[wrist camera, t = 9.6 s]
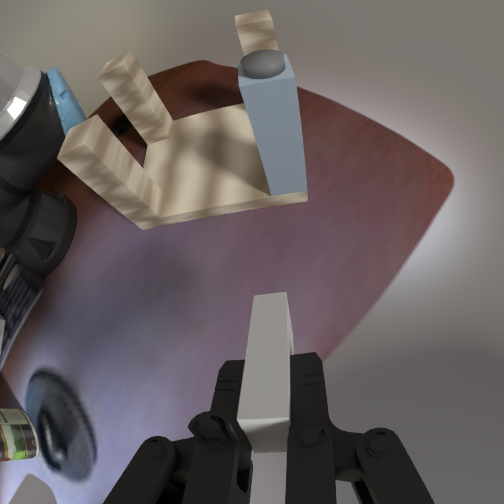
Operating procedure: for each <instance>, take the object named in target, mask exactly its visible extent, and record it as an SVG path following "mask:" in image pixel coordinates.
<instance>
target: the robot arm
mask: <svg viewBox="0 0 504 504" xmlns="http://www.w3.org/2000/svg"><path fill="white" fill-rule="evenodd" d="M85 120H87V119H86V117H85V115H84V113H83V111H82V109H81V107H80V105H79V103H78V101H77V99H76V98H75V96H74V94H73V92H72V90H71V89H70V87H69V85H68V84H67V82H66V80H65V79H64V77H63V75H62V74H61V72H60V71H59V70H58V68H56V67H53V68H52V69H49V70H47V72H46V73H45V74H44V73H43V72H42V71H41V70H40V68H38V67H37V66H30V67H26V68H20V67H19V66H18V65H17V64H16V63H15V62H14V61H13V60H12V59H11V58H10V57H9V56H8V55H7V54H6V53H5V52H4V51H3V50H2V49H1V48H0V246H1V247H3V248H4V249H6V250H8V251H9V252H10V253H11V254H12V255H13V256H14V257H15V258H16V259H17V260H18V261H19V262H20V263H21V264H22V265H23V266H24V267H25V268H26V269H27V270H28V271H30V272H32V273H34V274H36V275H39V276H44V275H47V274H49V273H50V272H52V271H53V270H54V269H55V268H56V267H57V266H58V265H59V263H60V262H61V261H62V259H63V258H64V256H65V254H66V252H67V250H68V248H69V246H70V244H71V241H72V238H73V235H74V232H75V227H76V218H77V215H76V208H75V205H74V204H73V202H72V201H70V200H69V199H68V198H66V197H65V196H64V195H61V194H58V193H54V192H50V191H46V190H42V189H38V188H36V187H35V185H36V184H37V183H38V181H39V180H40V179H41V178H42V177H43V176H44V175H45V174H46V173H47V172H48V171H49V170H50V169H51V168H52V167H53V166H54V165H55V164H56V163H57V162H58V161H59V160H58V159H57V157H58V154H59V152H60V149H61V147H62V145H63V142H64V140H65V138H66V136H67V134H68V131H69V129H71V128H72V127H74V126H76V125H78V124H80V123H82V122H84V121H85ZM188 428H189V430H190V431H191V432H192V433H193V435H194V437H191V438H187V439H182V440H177V441H170V440H169V439H167V438H166V437H162V436H154V437H151V438H149V439H147V440H145V441H144V442H143V444H142V445H141V446H140V448H139V449H138V451H137V452H136V454H135V455H134V457H133V458H132V460H131V461H130V463H129V464H128V466H127V468H126V469H125V471H124V472H123V474H122V475H121V477H120V478H119V480H118V481H117V483H116V484H115V486H114V487H113V489H112V490H111V492H110V493H109V495H108V497H107V498H106V500H105V501H104V503H103V504H249V503H250V493H251V483H252V473H253V463H252V460H251V451H252V450H253V451H254V453H270V452H287V470H286V497H285V504H336V486H335V485H336V484H335V480H341V481H348V482H351V484H352V487H353V489H354V491H355V494H356V496H357V499H358V501H359V504H434V501H433V500H432V498H431V496H430V494H429V492H428V490H427V488H426V486H425V484H424V483H423V481H422V479H421V477H420V475H419V473H418V472H417V470H416V468H415V466H414V464H413V462H412V461H411V459H410V457H409V455H408V454H407V451H406V450H405V448H404V446H403V445H402V443H401V441H400V439H399V438H398V436H397V435H396V434H395V433H394V432H393V431H392V430H389V429H387V428H375V429H371V430H369V431H367V432H366V433H364V434H362V433H353V432H346V431H342V430H340V429H338V428H337V427H335V426H334V425H333V424H332V422H331V420H330V418H329V414H328V405H327V397H326V389H325V380H324V373H323V365H322V360H321V359H320V358H319V356H318V355H317V354H316V352H312V353H304V354H296V355H293V334H292V327H291V321H290V314H289V307H288V301H287V295H286V292H280V293H272V294H264V295H256V296H254V300H253V307H252V314H251V322H250V329H249V336H248V344H247V351H246V358H245V360H230V361H226V362H225V363H224V364H223V366H222V367H221V369H220V370H219V374H218V378H217V383H216V387H215V392H214V396H213V400H212V405H211V409H210V411H208V412H203V413H201V414H198V415H196V416H195V417H194V418H193V419H192V420H191V421H190V423H189V425H188Z"/></svg>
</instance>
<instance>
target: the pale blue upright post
mask: <svg viewBox="0 0 504 504" xmlns="http://www.w3.org/2000/svg"><path fill="white" fill-rule="evenodd" d="M238 76H239V88H240V91H241V94H242V97H243V101H244V104H245V107H246V110H247V114H248V117H249V120H250V123H251V127H252V130H253V133H254V137H255V140H256V143H257V147H258V150H259V153H260V157H261V160H262V164H263V167H264V171H265V174H266V178H267V181H268V185H269V188H270V192H271V196H277V195H284V194H291V193H298V192H305V191H307V182H306V170H305V159H304V148H303V138H302V128H301V120H300V111H299V103H298V95H297V88H296V81H295V76H294V73H293V70H292V68H291V65H290V62H289V60H288V57H287V55H286V54H284V55H283V54H282V53H281V52H279V51H277V50H271V49H265V50H258V51H254V52H251V53H249V54H247V55H245V56H244V57H243V58H242V59H241V62H239V63H238Z"/></svg>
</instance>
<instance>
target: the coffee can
mask: <svg viewBox="0 0 504 504" xmlns="http://www.w3.org/2000/svg"><path fill="white" fill-rule="evenodd" d="M38 455H39V441H38V437H37V433H36V431H35V428H34V426H33V424H32V422H31V420H30V418H29V417H28V415H27V414H26V413H25V412H24V411H23V410H21V409H0V462H1V461H12V460H21V459H29V458H36V457H37V456H38Z"/></svg>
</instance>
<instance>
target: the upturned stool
mask: <svg viewBox="0 0 504 504" xmlns="http://www.w3.org/2000/svg"><path fill="white" fill-rule="evenodd" d="M235 23H236V29H237V32H238V35H239V38H240V42H241V45H242V48H243V52H244V55H247V54H249V53H251V52H254V51H258V50H265V49H271V50H277V51H279V50H278V45H277V40H276V35H275V31H274V26H273V21H272V18H271V16H270V14H269V11H268V10H265V11H260V12H254V13H248V14H243V15H238V16H235ZM98 79H99V80H100V81H101V83H102V84H103V85H104V87H105V88H106V89H107V91H108V92H109V93H110V95H111V96H112V98H113V99H114V100H115V102H116V103H117V104H118V106H119V107H120V108H121V110H122V111H123V112H124V114H125V115H126V116H127V118H128V119H129V120H130V122H131V123H132V124H133V126H134V127H135V128H136V130H137V131H138V132H139V134H140V135H141V136H142V138H143V139H144V140H145V142H146V143H147V144H148V147H147V151H146V156H145V161H144V166H143V168H142V167H141V166H140V165H139V163H138V162H137V161H136V160H135V159H134V158H133V156H132V155H131V154H130V153H129V152H128V151H127V149H126V148H125V147H124V146H123V145H122V144H121V142H120V141H119V140H118V139H117V138H116V137H115V135H114V134H113V133H112V132H111V131H110V129H109V128H108V127H107V126H106V125H105V123H104V122H103V121H102V120H101V119H100V117H99V116H98V115H95V116H93V117H91V118H89V119H87V120H85V121H84V122H82V123H80V124H78V125H76V126H74V127H72V128H71V129H69V131H68V134H67V136H66V138H65V140H64V142H63V145H62V147H61V149H60V152H59V154H58V157H57V159H58V160H59V161H61V162H62V163H63V164H64V165H65V166H66V167H67V168H68V169H70V170H71V171H72V172H73V173H74V174H75V175H76V176H78V177H79V178H80V179H81V180H82V181H83V182H85V183H86V184H87V185H88V186H89V187H90V188H92V189H93V190H94V191H95V192H96V193H98V194H99V195H100V196H101V197H102V198H104V199H105V200H106V201H107V202H108V203H110V204H111V205H112V206H113V207H114V208H116V209H117V210H118V211H119V212H121V213H122V214H123V215H124V216H125V217H127V218H128V219H129V220H130V221H132V222H133V223H134V224H135V225H137V226H138V227H139V228H140V229H142V230H143V229H148V228H153V227H158V226H163V225H168V224H173V223H178V222H183V221H189V220H194V219H200V218H205V217H211V216H216V215H222V214H228V213H234V212H240V211H246V210H252V209H258V208H265V207H271V206H278V205H284V204H291V203H298V202H305V201H308V196H307V191H305V192H298V193H291V194H284V195H277V196H271V192H270V188H269V185H268V181H267V178H266V174H265V171H264V167H263V164H262V160H261V157H260V153H259V150H258V147H257V143H256V140H255V137H254V133H253V130H252V127H251V123H250V120H249V117H248V114H247V110H246V107H245V104H244V103H242V104H237V105H232V106H228V107H224V108H219V109H215V110H211V111H207V112H203V113H200V114H196V115H192V116H189V117H185V118H182V119H179V120H175V121H173V120H172V118H171V116H170V115H169V113H168V111H167V110H166V108H165V106H164V105H163V103H162V101H161V100H160V98H159V96H158V95H157V93H156V91H155V90H154V88H153V86H152V85H151V83H150V81H149V80H148V78H147V76H146V75H145V73H144V71H143V70H142V68H141V66H140V65H139V63H138V61H137V60H136V58H135V56H134V55H133V53H132V51H129V52H127V53H125V54H123V55H121V56H119V57H117V58H115V59H113V60H111V61H109V62H107V63H106V65H105V66H104V68H103V69H102V71H101V73H100V74H99V76H98Z"/></svg>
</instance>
